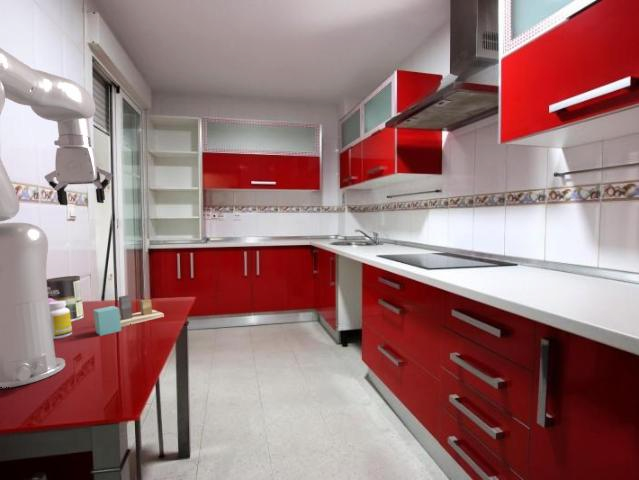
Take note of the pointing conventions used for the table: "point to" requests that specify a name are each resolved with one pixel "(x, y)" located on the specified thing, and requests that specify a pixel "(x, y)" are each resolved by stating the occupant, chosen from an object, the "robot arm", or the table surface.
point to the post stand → (130, 318)
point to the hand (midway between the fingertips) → (82, 203)
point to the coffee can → (67, 294)
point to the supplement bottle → (60, 319)
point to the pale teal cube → (107, 320)
